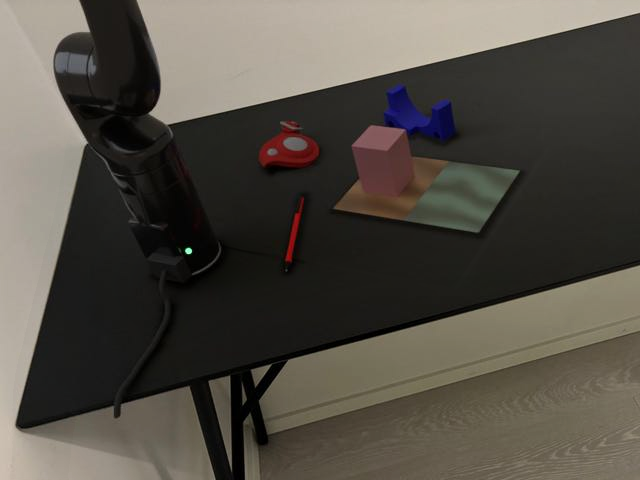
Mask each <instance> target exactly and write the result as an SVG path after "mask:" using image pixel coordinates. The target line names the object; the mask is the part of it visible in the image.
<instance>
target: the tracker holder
mask: <svg viewBox="0 0 640 480" xmlns="http://www.w3.org/2000/svg"><path fill="white" fill-rule="evenodd" d="M279 124H280V125H281V130H282V131H281V132H280V134H278V135H276V136H274V137H273V138H271V139H270V140H269V141H267V142H265V143H264V144H263V145H262V147H261V148H260V150H259V153H258V161H259V163H260V164H261V165H262V167H263V168H264V169H266V170H268V169H270V168H271V167H273V166H281V167H285V168H295V169H296V168H299V169H301V168H305V167H307V166H309V165H311V164H313V162H315V161H316V160H317V159H318V158H319V156H320V147H319V145H318V144H317V142H315V141H314V140H313V139H312V138H310V137H308V136H305V135H303V134H300V131H304V128H303V127H301V125H300V124H299V123H297V122H296V121H289V120H287V121H280V122H279Z"/></svg>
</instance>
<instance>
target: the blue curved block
mask: <svg viewBox="0 0 640 480" xmlns="http://www.w3.org/2000/svg"><path fill="white" fill-rule="evenodd" d="M386 97H387V103H388V107H389V108H388V109H386V110H385V111H382V113H383V117H384V122H385V127H390V128H391V127H392V126H393V128H398V129H406V133H407V135H409V136H412V135H414V134H415V133H417V132H419V133H421V134H424V135H426V136H429V137H431V138H434V139H435V138H438V137H439V141H441V142H444V141H445V140H447V139H448V138H450V137H451V136H453V135H454V134H456V127H455V120H454V114H453V106H452V101H449V100H446V99H443V100H441V101H440V102H438V103H437V104H435V105H434V106H432V107H431V108H430V110H431V116H430V117H427V115H424V114H423V113H421V112H420V111H419V110H418V109H417V108H416V106H415V105H414V104H413V102H412V99H410V96H409V94H408V91H407V88H406V85H402V84H399V83H398V84H397V85H395V86H393V87H392V88H390V89H388V90H387V91H386Z"/></svg>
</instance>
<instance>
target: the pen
mask: <svg viewBox="0 0 640 480" xmlns="http://www.w3.org/2000/svg"><path fill="white" fill-rule="evenodd" d="M304 200H305V196H303V195H299V196H298V200H297V206H296V210H295V214H294V220H293V223H292V229H291V233H290V238H289V243H288V247H287V250H286V251H287V252H286V255H285V261H284V267H285V272H288V271H289V269H290V267H291V265H292V263H293V253H294V247H295V243H296V238H297V234H298V228H299V223H300V218H301V215H302V214H301V213H302V209H303V205H304Z"/></svg>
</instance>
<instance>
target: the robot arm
mask: <svg viewBox="0 0 640 480" xmlns="http://www.w3.org/2000/svg"><path fill="white" fill-rule="evenodd" d="M78 2H79V4H80V6H81V10H82V12H83V15H84V17H85V21H86V24H87V28H88V31H77V32H73V33H70V34H68V35H65V36H64V37H63V38H62V39H61V40H60V41H59V43H58V44H57V46H56V48H55V51H54V54H53V59H52V60H53V62H52V64H53V65H52V66H53V68H52V69H53V75H54V79H55V82H56V85H57V88H58V90H59V93H60V95H61V97H62V99H63V102H64V103H65V105H66V107H67V109H68V111H69V113H70V114H71V116H72V118H73V119H74V121H75V123H76V124H77V127H78V129H79V130H80V132H81V133H82V136H83V137H84V139H85V140H86V142H87V144H88V146H89V147H90V148H91V149H92V150H93V152H95V154H96V155H98V157H100V158H101V160H103V161H104V163H105V165H106V167H107V169H108V171H109V173H110V174H111V177H112V180H113V181H114V183H115V185H116V187H117V190H118V192H119V193H120V195H121V197H122V200H123V202H124V203H125V206H126V208H127V210H128V212H129V214H130V216H131V218H130V219H129V220H128V221H127V223H128V226H129V228H130V230H131V232H132V234H133V236H134V238H135V240H136V242H137V244H138V247H139V248H140V250H141V252H142V254H143V256H144V258H145V259H146V262H147V264H148V266H149V268H150V270H151V272H152V274H153V276H154V277H155V278H158V279H159V282H158V291H159V295H160V297H161V298H162V300H163V303H164V315H163V320H162V321H161V324H160V326H159V327H158V329H157V332H155V336H154V337H153V339H152V340H151V343H150V344H149V346H148V347H147V348H146V350H145V351H144V353H142V355H141V357H140V358H139V360H138V361H137V362H136V364H135V366H134V367H133V368H132V370H131V372H130V373H129V375H128V376H127V377H126V379H125V380H124V381H123V383H122V384H121V385H120V387H119V388H118V390H117V392H116V395H115V398H114V402H113V418H114V419H118V418H120V417H121V414H122V403H123V398H124V395H125V393H126V392H127V390H128V388H129V387H130V385H131V384H133V382H134V381H135V379H136V377H137V376H138V374H139V372H140V371H141V369H142V368H143V366H144V365H145V363H146V362H147V361H148V360H149V358H150V357H151V355H152V354H153V352H154V351H155V350H156V348H157V346H158V345H159V343H160V341H161V339H162V337H163V335H164V333H165V331H166V329H167V327H168V325H169V323H170V320H171V315H172V304H171V303H172V302H171V300H170V299H171V298H170V297H169V295H168V294H167V292H166V281H167V280H168V281H172V282H176V283H181V284H185V283H189V282H190V281H191V280H193V278H197V277H198V276H201V275H203V274H205V273H207V272H208V271H210V270H212V268H214V267H215V266H216V265H217V264H218V263H219V262H220V260H221V257H222V256H223V249H222V246H221V244H220V242H219V241H218V239H217V236H216V234H215V231H214V229H213V227H212V224H211V222H210V219H209V217H208V214H207V212H206V210H205V208H204V205H203V202H202V200H201V197H200V195H199V193H198V190H197V188H196V186H195V183H194V181H193V179H192V175H191V174H190V171H189V169H188V167H187V164H186V162H185V159H184V157H183V153H182V151H181V150H180V147H179V145H178V143H177V140H176V138H175V136H174V133H173V131H172V129H171V128H170V127H169V126H168V124H166V123H165V122H164V121H161V120H160V119H158V118H156V117H155V116H153V115H152V114H150V113H151V112H153V110H154V109H155V108H156V106H157V104H158V102H159V100H160V96H161V93H162V92H161V91H162V77H161V69H160V64H159V60H158V56H157V53H156V50H155V47H154V43H153V42H152V38H151V36H150V33H149V30H148V27H147V24H146V21H145V19H144V16H143V14H142V10H141V8H140V6H139V2H138V0H78Z"/></svg>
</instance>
